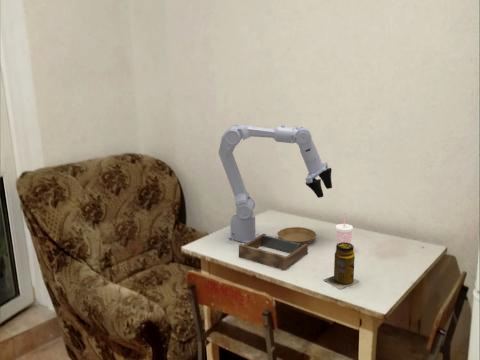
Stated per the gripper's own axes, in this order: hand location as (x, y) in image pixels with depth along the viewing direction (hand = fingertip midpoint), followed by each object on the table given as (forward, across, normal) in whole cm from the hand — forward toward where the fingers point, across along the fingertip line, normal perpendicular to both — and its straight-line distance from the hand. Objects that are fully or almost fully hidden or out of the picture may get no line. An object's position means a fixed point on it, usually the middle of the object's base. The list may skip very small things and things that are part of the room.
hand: (325, 192), depth 169 cm
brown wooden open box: (+11, -25, +14) cm, 30 cm away
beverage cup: (+20, -8, -3) cm, 22 cm away
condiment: (+19, -30, -13) cm, 38 cm away
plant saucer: (+14, -8, +15) cm, 22 cm away
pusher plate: (+12, -20, +14) cm, 27 cm away
